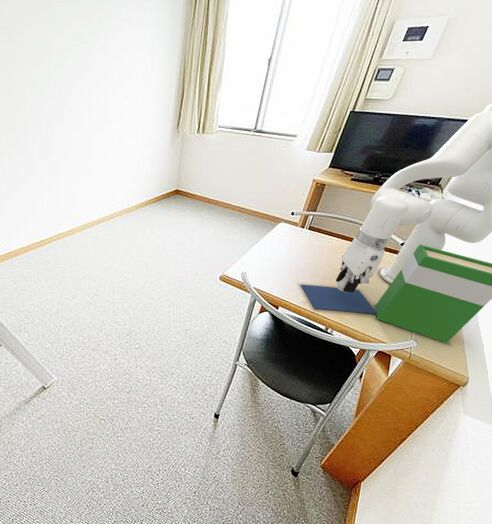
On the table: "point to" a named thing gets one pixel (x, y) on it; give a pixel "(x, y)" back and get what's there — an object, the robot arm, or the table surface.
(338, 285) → the rook chess piece
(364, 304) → the cloth
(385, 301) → the hardback book
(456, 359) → the table surface
